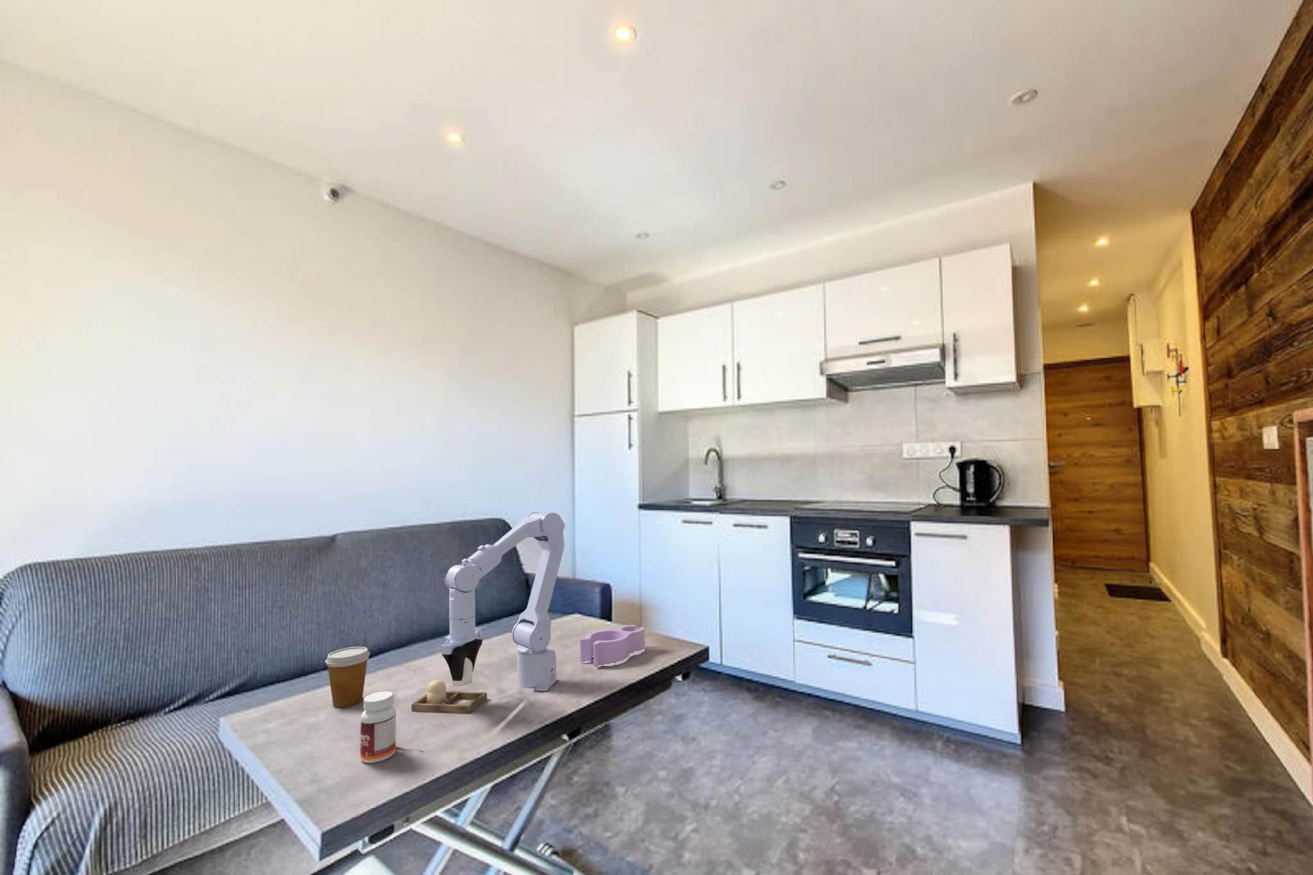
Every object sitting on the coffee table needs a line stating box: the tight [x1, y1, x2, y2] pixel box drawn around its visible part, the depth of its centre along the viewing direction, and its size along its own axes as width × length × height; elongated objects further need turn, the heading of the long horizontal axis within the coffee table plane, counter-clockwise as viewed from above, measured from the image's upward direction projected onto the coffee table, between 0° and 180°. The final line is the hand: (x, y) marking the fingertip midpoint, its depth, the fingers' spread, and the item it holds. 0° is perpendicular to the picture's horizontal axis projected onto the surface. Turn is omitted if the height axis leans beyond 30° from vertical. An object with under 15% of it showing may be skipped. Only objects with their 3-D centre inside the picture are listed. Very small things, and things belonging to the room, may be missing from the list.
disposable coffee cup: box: [325, 646, 371, 708], centre depth 133 cm, size 10×10×12 cm
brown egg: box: [426, 679, 447, 704], centre depth 128 cm, size 4×4×6 cm
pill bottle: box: [359, 690, 397, 764], centre depth 106 cm, size 6×6×11 cm
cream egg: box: [452, 658, 474, 687], centre depth 127 cm, size 4×4×6 cm
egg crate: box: [410, 690, 488, 715], centre depth 127 cm, size 14×8×2 cm, turn 80°
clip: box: [578, 624, 646, 668], centre depth 159 cm, size 20×12×7 cm, turn 134°
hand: (463, 676), depth 127 cm, fingers closed on cream egg, 4 cm apart
